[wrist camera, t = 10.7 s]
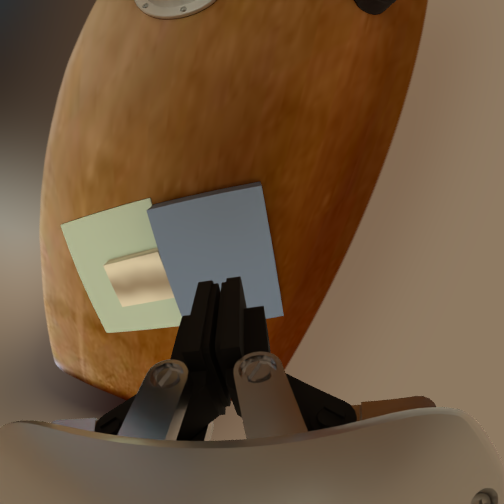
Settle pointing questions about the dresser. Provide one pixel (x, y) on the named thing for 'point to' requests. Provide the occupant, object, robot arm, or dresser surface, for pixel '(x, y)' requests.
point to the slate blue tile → (218, 245)
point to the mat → (109, 247)
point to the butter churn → (374, 5)
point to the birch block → (139, 278)
